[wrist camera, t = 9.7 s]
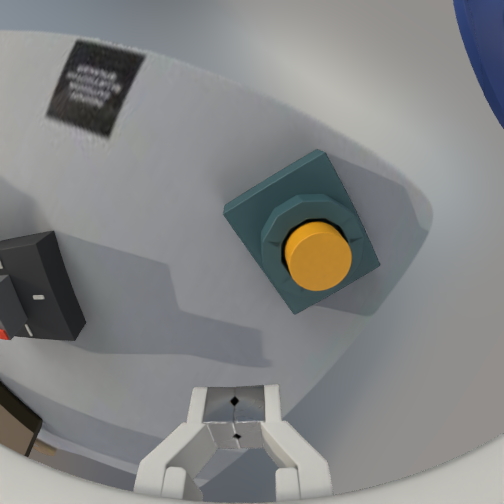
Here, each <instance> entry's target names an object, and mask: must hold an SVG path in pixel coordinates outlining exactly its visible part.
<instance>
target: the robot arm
mask: <svg viewBox="0 0 504 504" xmlns="http://www.w3.org/2000/svg"><path fill="white" fill-rule="evenodd" d="M234 448H264V450H265V451H266V452H267V454H268V455H269V456H270V457H271V459H272V460H273V461H274V463H275V464H276V465H277V466H278V468H279V469H278V470H277V471H276V502H262V503H220V502H203V501H202V500H203V499H202V498H203V494H202V492H201V491H200V489H199V488H198V487H197V485H196V484H195V483H194V481H193V480H194V478H195V477H196V476H197V475H198V473H199V472H200V471H201V470H202V469H203V467H204V466H205V465H206V463H207V462H208V461H209V460H210V458H211V457H212V456H213V455H214V453H215V452H216V451H217V449H234ZM0 504H504V433H503V434H501V435H499V436H497V437H496V438H494V439H492V440H490V441H489V442H487V443H485V444H483V445H481V446H479V447H477V448H475V449H473V450H471V451H469V452H467V453H465V454H463V455H461V456H458V457H456V458H454V459H452V460H450V461H447V462H445V463H442V464H440V465H438V466H435V467H433V468H430V469H427V470H425V471H422V472H419V473H416V474H413V475H410V476H408V477H404V478H401V479H398V480H395V481H391V482H388V483H384V484H381V485H377V486H373V487H369V488H365V489H361V490H356V491H352V492H347V493H342V494H336V495H333V489H332V483H331V477H330V471H329V465H328V461H326V459H324V458H323V457H322V456H321V455H320V454H319V453H318V452H317V451H316V450H315V449H314V448H313V447H312V446H311V445H310V444H309V443H308V442H307V441H306V440H305V439H304V438H303V437H302V436H301V435H300V434H299V433H298V432H297V431H296V430H295V429H294V428H293V427H292V426H291V425H290V424H289V423H288V422H287V421H282V412H281V400H280V389H279V384H274V385H257V386H241V387H194V389H193V391H192V397H191V402H190V407H189V412H188V417H187V423H182V424H181V425H180V426H179V427H177V428H176V429H175V430H174V431H173V432H172V433H171V434H170V435H169V436H168V437H167V438H166V439H165V440H164V441H163V442H161V443H160V444H159V445H158V446H157V447H156V448H155V449H154V450H153V451H152V452H150V453H149V454H148V455H147V456H146V457H145V458H144V459H143V460H141V462H140V465H139V469H138V473H137V477H136V481H135V485H134V489H133V492H132V491H127V490H123V489H118V488H114V487H110V486H106V485H103V484H99V483H96V482H92V481H89V480H86V479H83V478H80V477H77V476H74V475H71V474H68V473H65V472H62V471H59V470H57V469H54V468H52V467H49V466H47V465H44V464H42V463H39V462H37V461H35V460H33V459H30V458H28V457H26V456H24V455H22V454H20V453H18V452H16V451H14V450H12V449H10V448H8V447H6V446H4V445H2V444H0Z"/></svg>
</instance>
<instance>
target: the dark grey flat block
mask: <svg viewBox="0 0 504 504" xmlns="http://www.w3.org/2000/svg"><path fill="white" fill-rule="evenodd" d="M0 275H9V277H10V279H11V282H12V284H13V287H14V289H15V291H16V294H17V296H18V298H19V301H20V303H21V305H22V307H23V310H24V312H25V314H26V316H27V318H28V320H27V321H26V322H25V323H24V324H23V326H22V327H21V328H20V329H19V331H18V332H17V333H16V334H15V336H18V337H28V338H39V339H52V340H68V341H75V340H76V338H77V337H78V335H79V333H80V332H81V330H82V329H83V327H84V326H85V324H86V321H85V318H84V316H83V314H82V311H81V309H80V306H79V304H78V302H77V299H76V296H75V294H74V291H73V289H72V286H71V283H70V280H69V278H68V275H67V272H66V269H65V266H64V263H63V260H62V257H61V254H60V251H59V247H58V244H57V241H56V237H55V234H54V231H49V232H43V233H38V234H33V235H28V236H23V237H18V238H13V239H8V240H3V241H0Z"/></svg>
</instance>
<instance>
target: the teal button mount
mask: <svg viewBox="0 0 504 504" xmlns="http://www.w3.org/2000/svg"><path fill="white" fill-rule="evenodd" d="M223 215H224V216H225V218H226V219H227V221H228V222H229V223H230V225H231V226H232V228H233V229H234V230H235V232H236V233H237V235H238V236H239V238H240V239H241V240H242V242H243V243H244V245H245V246H246V247H247V249H248V250H249V252H250V253H251V255H252V256H253V257H254V259H255V260H256V262H257V263H258V264H259V266H260V267H261V269H262V270H263V272H264V273H265V274H266V276H267V277H268V279H269V280H270V281H271V283H272V284H273V286H274V287H275V289H276V290H277V291H278V293H279V294H280V296H281V297H282V298H283V300H284V301H285V303H286V304H287V305H288V307H289V308H290V310H291V311H292V313H293V314H294V315H295V314H297V313H299V312H301V311H303V310H304V309H306V308H308V307H310V306H312V305H313V304H315V303H317V302H319V301H321V300H322V299H324V298H326V297H328V296H330V295H331V294H333V293H335V292H337V291H338V290H340V289H342V288H344V287H345V286H347V285H349V284H350V283H352V282H354V281H355V280H357V279H359V278H361V277H362V276H364V275H366V274H367V273H369V272H370V271H372V270H374V269H375V268H377V267H379V266H380V263H379V261H378V258H377V256H376V254H375V251H374V249H373V247H372V245H371V242H370V240H369V238H368V236H367V234H366V231H365V229H364V227H363V225H362V223H361V221H360V219H359V216H358V214H357V212H356V210H355V208H354V206H353V204H352V202H351V200H350V198H349V196H348V194H347V192H346V190H345V188H344V186H343V184H342V182H341V181H340V179H339V177H338V175H337V173H336V171H335V169H334V167H333V166H332V164H331V162H330V160H329V158H328V156H327V155H326V153H325V152H323V151H320V150H315V151H313V152H311V153H310V154H308V155H306V156H304V157H303V158H301V159H299V160H298V161H296V162H294V163H293V164H291V165H289V166H287V167H286V168H284V169H282V170H281V171H279V172H277V173H276V174H274V175H273V176H271V177H269V178H268V179H266V180H264V181H263V182H261V183H259V184H258V185H256V186H255V187H253V188H251V189H250V190H248V191H247V192H245V193H243V194H242V195H240V196H239V197H237V198H235V199H234V200H232V201H231V202H229V203H228V204H226V205H225V207H224V212H223ZM315 221H319V222H324V223H327V224H330V225H331V226H333V227H334V228H335V229H336V230H337V231H338V232H339V233H340V235H341V236H342V237H343V238H344V239H345V241H346V242H347V243H348V245H349V247H350V249H351V253H352V262H351V266H350V269H349V271H348V273H347V275H346V276H345V278H344V279H343V280H342V281H341V282H340V283H338V284H337V285H335V286H334V287H332V288H329V289H326V290H322V291H312V290H307V289H305V288H303V287H301V286H299V285H298V284H297V283H296V282H295V281H294V280H293V278H292V276H291V274H290V271H289V268H288V265H287V261H286V258H285V245H286V242H287V240H288V238H289V236H290V235H291V233H292V232H293V231H294V230H295V229H297V228H298V227H299V226H301V225H303V224H305V223H309V222H315Z"/></svg>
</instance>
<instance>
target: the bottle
mask: <svg viewBox="0 0 504 504" xmlns="http://www.w3.org/2000/svg"><path fill="white" fill-rule="evenodd" d="M41 426H42V419H41V418H39V417H38V416H37V415H36V414H34V413H33V412H32V411H31V410H30V409H29V408H28V407H26V406H25V405H24V404H23V403H22V402H21V401H20V400H19V399H18V398H16V397H15V396H14V395H13V394H12V393H11V392H10V391H9V390H8V389H7V388H6V387H5V386H4V385H3V384H2V383H1V382H0V444H2V445H4V446H6V447H8V448H10V449H12V450H14V451H16V452H18V453H20V454H22V455H24V456H26V457H28V456H29V454H30V452H31V449H32V447H33V444H34V442H35V440H36V438H37V435H38V433H39V431H40V429H41Z"/></svg>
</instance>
